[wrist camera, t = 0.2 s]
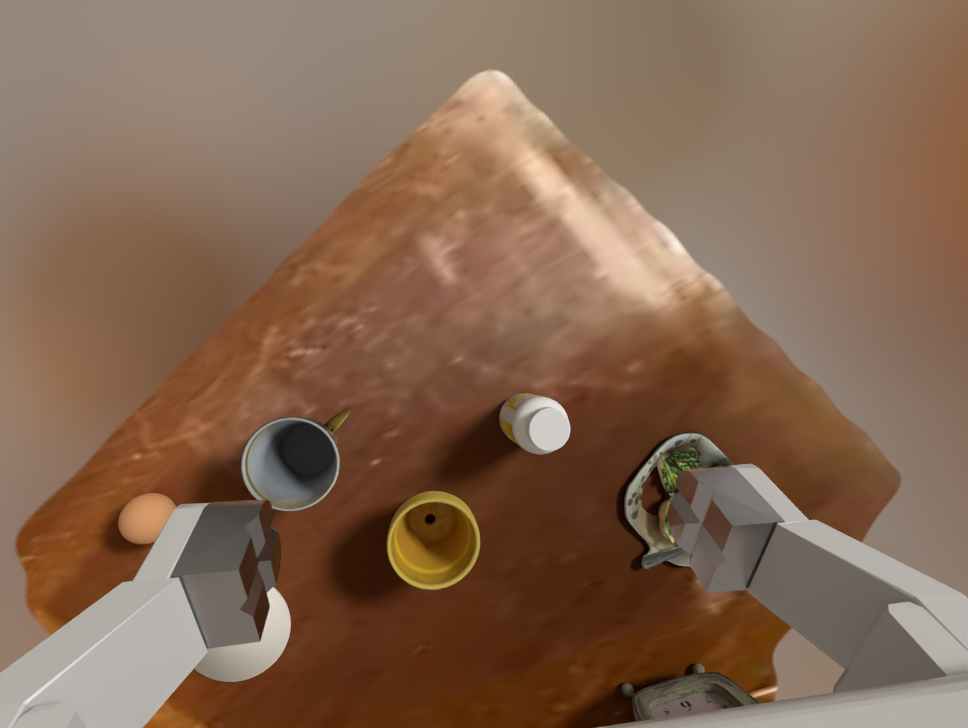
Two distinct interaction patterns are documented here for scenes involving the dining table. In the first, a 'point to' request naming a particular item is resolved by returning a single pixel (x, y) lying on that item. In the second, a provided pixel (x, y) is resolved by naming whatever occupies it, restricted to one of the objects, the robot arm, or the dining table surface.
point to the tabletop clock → (687, 695)
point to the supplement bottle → (535, 423)
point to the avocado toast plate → (668, 493)
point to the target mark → (251, 648)
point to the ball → (145, 517)
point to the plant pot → (433, 540)
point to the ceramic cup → (292, 461)
